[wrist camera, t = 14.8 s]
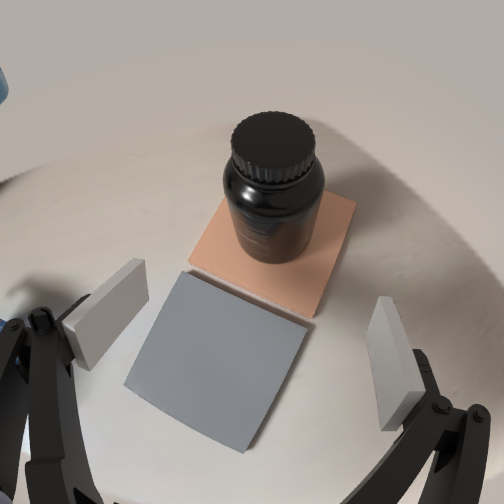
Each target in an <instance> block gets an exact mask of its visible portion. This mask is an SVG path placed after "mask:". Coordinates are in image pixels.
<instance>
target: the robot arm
mask: <svg viewBox="0 0 504 504" xmlns="http://www.w3.org/2000/svg"><path fill="white" fill-rule="evenodd" d="M7 95H8V85H7V82H6V80H5V77H4V74H3V72H2V69H1V67H0V104H1V103H2V102H3V101H4V100H5V99H6V97H7ZM148 300H149V295H148V287H147V278H146V268H145V260H143V259H137V258H133V259H132V260H131V261H129V262H128V263H127V264H126V265H125V266H123V267H122V268H121V269H120V270H119V271H118V272H116V273H115V274H114V275H113V276H112V277H111V278H109V279H108V280H107V281H106V282H105V283H104V284H102V285H101V286H100V287H99V288H98V289H97V290H96V291H94V292H93V293H92V294H87V295H85V296H83V297H81V298H80V299H79V300H78V301H76V302H75V304H73V305H72V306H71V307H70V309H68V310H66V311H65V312H64V313H63V314H62V315H61V316H60V317H59V318H58V319H57V320H56V321H55V320H54V317H53V314H52V311H51V310H50V309H49V308H47V307H40V308H37V309H35V310H33V311H32V312H31V313H30V314H29V315H28V320H29V322H30V325H31V327H32V328H28V327H26V326H25V324H24V321H23V320H22V319H20V318H14V319H11V320H9V321H8V322H7V323H6V324H5V325H4V327H3V329H2V331H1V332H0V504H13V503H12V502H13V499H14V495H15V491H16V484H17V476H18V467H19V459H20V452H21V446H22V440H23V434H24V429H25V424H26V420H27V415H28V420H29V440H30V452H31V460H30V461H28V462H26V464H25V475H26V482H27V489H28V494H29V500H30V504H104V503H103V500H102V498H101V496H100V494H99V492H98V491H97V489H96V487H95V485H94V482H93V479H92V475H91V472H90V468H89V464H88V460H87V456H86V451H85V447H84V442H83V437H82V432H81V427H80V421H79V415H78V408H77V401H76V393H75V384H74V374H73V366H72V363H71V362H72V360H73V359H74V358H75V359H76V362H77V364H78V366H79V367H81V368H83V369H86V370H88V371H91V370H92V369H93V367H94V366H95V365H96V363H97V362H98V361H99V360H100V358H101V357H102V356H103V355H104V353H105V352H106V351H107V350H108V348H109V347H110V346H111V345H112V344H113V342H114V341H115V340H116V339H117V337H118V336H119V335H120V334H121V333H122V331H123V330H124V329H125V328H126V327H127V325H128V324H129V323H130V322H131V321H132V319H133V318H134V317H135V316H136V315H137V313H138V312H139V311H140V310H141V309H142V307H143V306H144V305H145V304H146V303H147V302H148ZM365 338H366V343H367V348H368V353H369V358H370V363H371V369H372V375H373V381H374V387H375V393H376V400H377V407H378V414H379V422H380V430H381V431H397V429H398V428H399V427H400V426H401V424H403V430H404V431H403V432H402V433H401V435H400V436H399V437H398V438H397V439H396V440H395V441H394V444H393V445H392V446H391V448H390V449H389V450H388V452H387V453H386V454H385V455H384V457H383V458H382V459H381V460H380V461H379V463H378V464H377V465H376V466H375V467H374V468H373V470H372V471H371V472H370V473H369V474H368V475H367V476H366V477H365V478H364V480H363V481H362V482H361V483H360V484H359V485H358V486H357V487H356V488H355V489H354V490H353V491H352V492H351V493H350V494H349V495H348V496H347V497H346V498H345V499H344V500H343V501H342V502H341V503H340V504H397V503H398V502H399V500H400V499H401V498H402V496H403V495H404V494H405V492H406V491H407V490H408V488H409V487H410V485H411V484H412V483H413V481H414V480H415V478H416V477H417V475H418V474H419V472H420V471H421V469H422V467H423V466H424V464H425V463H426V461H427V460H428V458H429V456H430V455H431V453H432V451H433V450H434V451H435V455H434V458H433V462H432V465H431V468H430V471H429V474H428V477H427V480H426V483H425V486H424V489H423V491H422V494H421V497H420V499H419V502H418V504H478V502H479V498H480V494H481V490H482V485H483V480H484V474H485V468H486V462H487V455H488V446H489V436H490V422H491V417H490V413H489V411H488V410H487V409H486V408H485V407H484V406H482V405H480V404H474V405H472V406H471V407H470V408H469V409H468V410H467V411H465V410H461V409H456V408H453V406H452V404H451V402H450V400H448V399H447V398H446V397H444V396H442V395H440V392H439V389H438V386H437V383H436V381H435V378H434V375H433V373H432V369H431V367H430V364H429V361H428V359H427V357H426V355H425V354H424V353H423V352H422V351H421V350H420V349H412V348H411V345H410V342H409V339H408V337H407V334H406V331H405V329H404V326H403V324H402V321H401V318H400V316H399V313H398V311H397V308H396V306H395V304H394V301H393V299H392V297H387V296H379V297H378V300H377V303H376V306H375V309H374V312H373V315H372V318H371V321H370V323H369V326H368V329H367V332H366V334H365ZM16 358H17V359H18V361H17V363H16ZM114 504H118V503H116V502H114Z"/></svg>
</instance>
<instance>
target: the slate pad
mask: <svg viewBox="0 0 504 504" xmlns="http://www.w3.org/2000/svg"><path fill="white" fill-rule="evenodd" d="M306 331H307V328H305V327H302V326H300V325H298V324H296V323H293V322H291V321H289V320H286V319H284V318H282V317H280V316H277V315H275V314H273V313H271V312H268V311H266V310H264V309H262V308H260V307H257V306H255V305H253V304H251V303H249V302H247V301H244V300H242V299H240V298H238V297H236V296H234V295H232V294H230V293H227V292H225V291H223V290H221V289H219V288H217V287H215V286H213V285H211V284H209V283H207V282H205V281H202V280H200V279H198V278H196V277H194V276H192V275H190V274H188V273H186V272H184V271H182V272H181V274H180V276H179V277H178V279H177V281H176V283H175V285H174V286H173V288H172V290H171V292H170V294H169V296H168V298H167V299H166V301H165V303H164V305H163V307H162V309H161V311H160V313H159V315H158V317H157V318H156V320H155V322H154V324H153V326H152V328H151V330H150V332H149V334H148V336H147V338H146V340H145V342H144V344H143V346H142V348H141V350H140V352H139V354H138V356H137V358H136V360H135V362H134V364H133V366H132V368H131V370H130V372H129V374H128V376H127V379H126V381H125V383H124V386H125V387H127V388H128V389H130V390H131V391H132V392H134V393H135V394H137V395H138V396H140V397H141V398H143V399H144V400H146V401H147V402H149V403H150V404H152V405H153V406H155V407H157V408H158V409H160V410H161V411H163V412H165V413H166V414H168V415H169V416H171V417H173V418H175V419H176V420H178V421H180V422H181V423H183V424H185V425H187V426H188V427H190V428H192V429H194V430H196V431H198V432H199V433H201V434H203V435H205V436H207V437H209V438H211V439H213V440H215V441H217V442H219V443H221V444H223V445H225V446H227V447H229V448H232V449H234V450H236V451H238V452H240V453H243V454H244V452H245V451H246V449H247V447H248V445H249V444H250V442H251V440H252V438H253V437H254V435H255V433H256V431H257V429H258V428H259V426H260V424H261V422H262V420H263V419H264V417H265V415H266V413H267V411H268V409H269V407H270V405H271V404H272V402H273V400H274V398H275V396H276V394H277V392H278V390H279V388H280V386H281V384H282V382H283V380H284V378H285V376H286V374H287V372H288V370H289V368H290V366H291V364H292V362H293V360H294V357H295V355H296V353H297V351H298V349H299V347H300V345H301V342H302V340H303V338H304V336H305V334H306Z"/></svg>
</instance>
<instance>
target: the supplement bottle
mask: <svg viewBox="0 0 504 504" xmlns="http://www.w3.org/2000/svg"><path fill="white" fill-rule="evenodd" d="M231 137H232V139H231V149H232V156H231V157H230V159H229V160H228V162H227V164H226V166H225V169H224V173H223V187H224V192H225V196H226V200H227V203H228V207H229V211H230V214H231V218H232V222H233V225H234V229H235V233H236V236H237V239H238V241H239V244H240V245H241V247H242V249H243V250H244V251H245V252H246V253H247V254H248V255H249V256H250V257H252V258H253V259H255V260H257V261H259V262H262V263H266V264H283V263H287V262H289V261H292V260H294V259H296V258H297V257H298V256H300V255H301V254H302V253H303V252H304V251H305V249H306V248H307V246H308V245H309V243H310V240H311V237H312V234H313V231H314V227H315V223H316V219H317V215H318V211H319V208H320V204H321V200H322V196H323V191H324V185H325V176H324V171H323V168H322V166H321V163H320V162H319V160H318V158H317V157H316V156H315V145H316V142H315V135H314V134H313V130H312V129H311V128H310V127H309V125H308V124H306V123H305V121H304V120H301V119H300V118H299V117H296V116H294V115H292V114H287V113H285V112H278V111H275V112H272V111H268V112H261V113H259V114H254V115H252V116H249V117H248V118H246V119H244V120H242V122H241V123H239V124H238V125H237V127H236V128H235V129H234V133H233V134H232V136H231Z"/></svg>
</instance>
